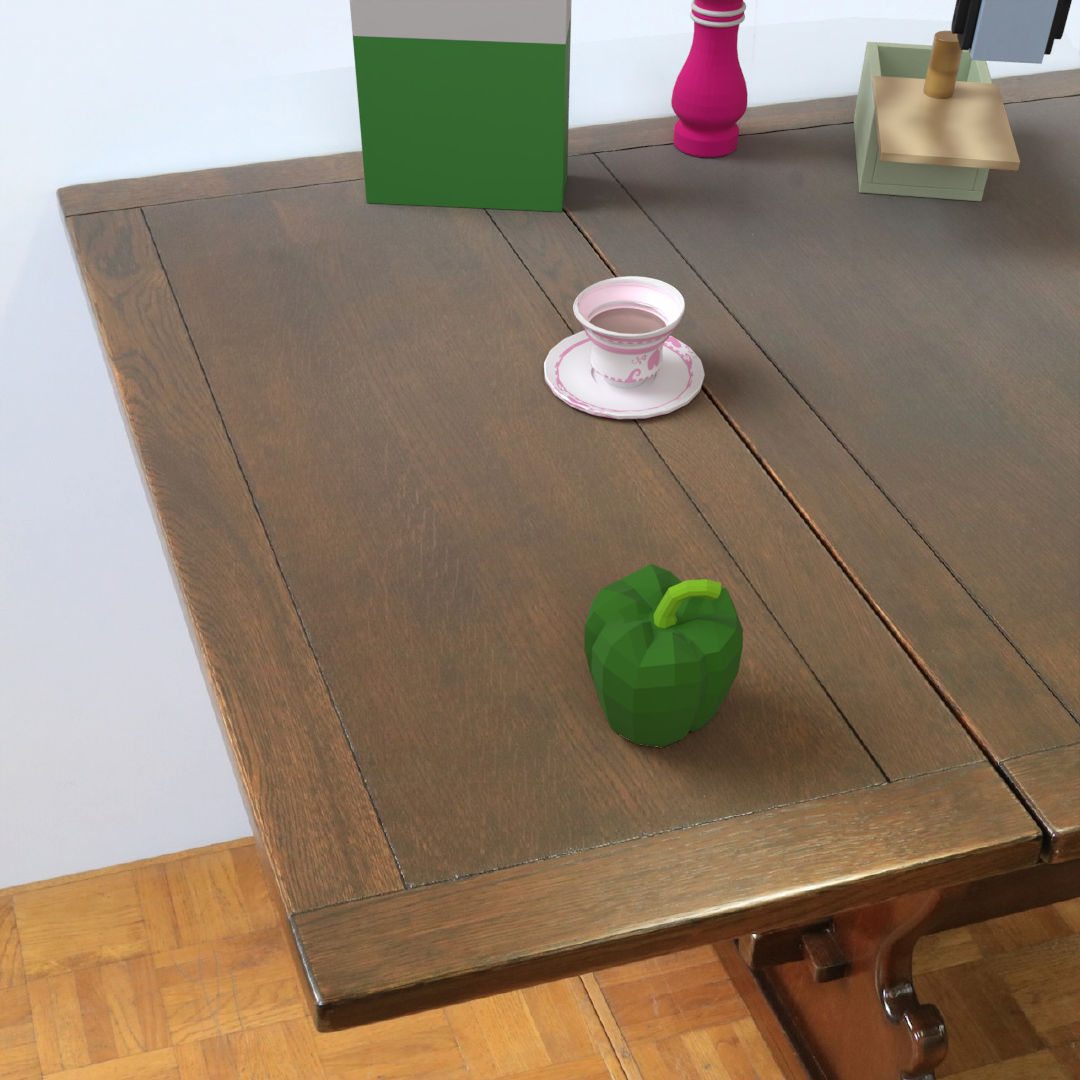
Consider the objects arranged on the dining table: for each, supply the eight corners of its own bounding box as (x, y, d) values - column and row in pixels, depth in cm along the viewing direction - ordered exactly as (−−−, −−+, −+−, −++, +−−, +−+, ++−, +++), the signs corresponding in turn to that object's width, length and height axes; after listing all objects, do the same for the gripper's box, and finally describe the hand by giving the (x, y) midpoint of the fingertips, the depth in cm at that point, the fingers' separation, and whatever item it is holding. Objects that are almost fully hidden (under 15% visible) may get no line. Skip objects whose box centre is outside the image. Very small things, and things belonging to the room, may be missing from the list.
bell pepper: (557, 741, 72) (560, 609, 66) (612, 642, 78) (620, 512, 72) (703, 791, 70) (722, 660, 63) (749, 686, 76) (770, 555, 69)
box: (964, 128, 133) (983, 48, 127) (981, 201, 121) (1002, 117, 115) (853, 120, 134) (866, 41, 128) (858, 192, 122) (874, 108, 117)
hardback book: (366, 202, 119) (342, -80, 104) (380, 166, 125) (360, -107, 109) (562, 211, 118) (568, -72, 103) (567, 174, 124) (573, -100, 108)
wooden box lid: (995, 92, 119) (1011, 27, 115) (1018, 171, 107) (1036, 101, 103) (871, 84, 120) (883, 19, 117) (880, 161, 108) (893, 92, 105)
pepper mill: (723, 124, 133) (745, -89, 120) (754, 154, 128) (781, -64, 114) (656, 133, 131) (671, -81, 118) (685, 164, 126) (704, -57, 113)
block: (1031, 38, 100) (1048, -30, 97) (1041, 64, 96) (1060, -7, 93) (963, 35, 100) (978, -34, 97) (971, 60, 97) (987, -11, 93)
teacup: (634, 443, 93) (639, 369, 89) (510, 377, 99) (509, 305, 95) (736, 373, 99) (745, 301, 95) (614, 314, 105) (617, 245, 101)
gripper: (1190, -241, 88) (1111, 33, 100) (930, -250, 90) (882, 21, 102) (1219, -216, 83) (1131, 72, 95) (941, -226, 84) (889, 58, 96)
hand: (1003, 43), depth 98 cm, fingers closed on block, 5 cm apart
